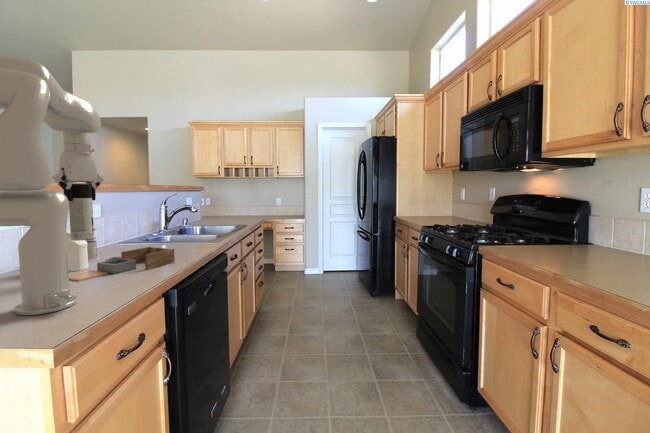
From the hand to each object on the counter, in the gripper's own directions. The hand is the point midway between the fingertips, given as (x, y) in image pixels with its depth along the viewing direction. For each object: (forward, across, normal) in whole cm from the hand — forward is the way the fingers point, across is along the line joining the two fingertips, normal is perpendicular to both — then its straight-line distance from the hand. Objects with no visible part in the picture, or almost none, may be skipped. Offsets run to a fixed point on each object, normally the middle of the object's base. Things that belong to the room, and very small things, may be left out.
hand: (80, 200), depth 110 cm
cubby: (+28, -22, +6) cm, 36 cm away
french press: (+28, -17, -27) cm, 42 cm away
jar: (+28, -4, -15) cm, 32 cm away
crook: (+28, -22, -8) cm, 37 cm away
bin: (+28, -10, +3) cm, 30 cm away
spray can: (+14, 0, 0) cm, 14 cm away
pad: (+28, 0, 0) cm, 28 cm away
